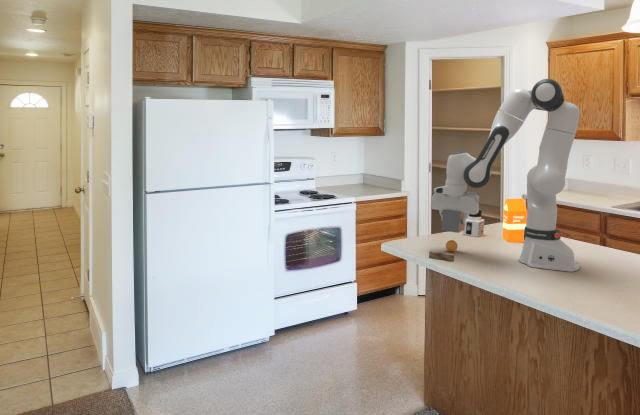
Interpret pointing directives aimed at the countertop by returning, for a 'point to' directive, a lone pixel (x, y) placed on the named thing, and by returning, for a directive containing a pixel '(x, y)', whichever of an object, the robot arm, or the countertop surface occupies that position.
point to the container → (474, 225)
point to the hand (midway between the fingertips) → (453, 222)
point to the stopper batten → (441, 255)
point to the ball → (451, 246)
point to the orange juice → (514, 220)
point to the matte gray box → (452, 221)
